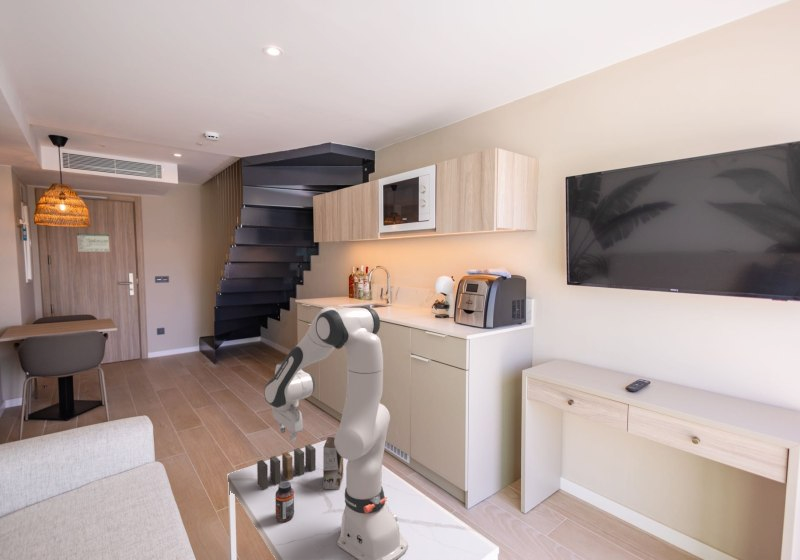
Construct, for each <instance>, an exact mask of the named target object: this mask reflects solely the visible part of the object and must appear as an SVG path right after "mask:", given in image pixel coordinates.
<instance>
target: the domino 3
mask: <svg viewBox="0 0 800 560" xmlns="http://www.w3.org/2000/svg"><path fill="white" fill-rule="evenodd" d="M281 456H282V457H281V459H282V461H281V463H282V464H281V467H282V468H281V469H282V473H281V475H282V476H283V478H285V480H286V481H288V482H289V481H291V480H293V477H294V475H293V474H294V473H293V471H294V468H293V455H291V453H289V452H288V451H284V452H282V453H281Z"/></svg>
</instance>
